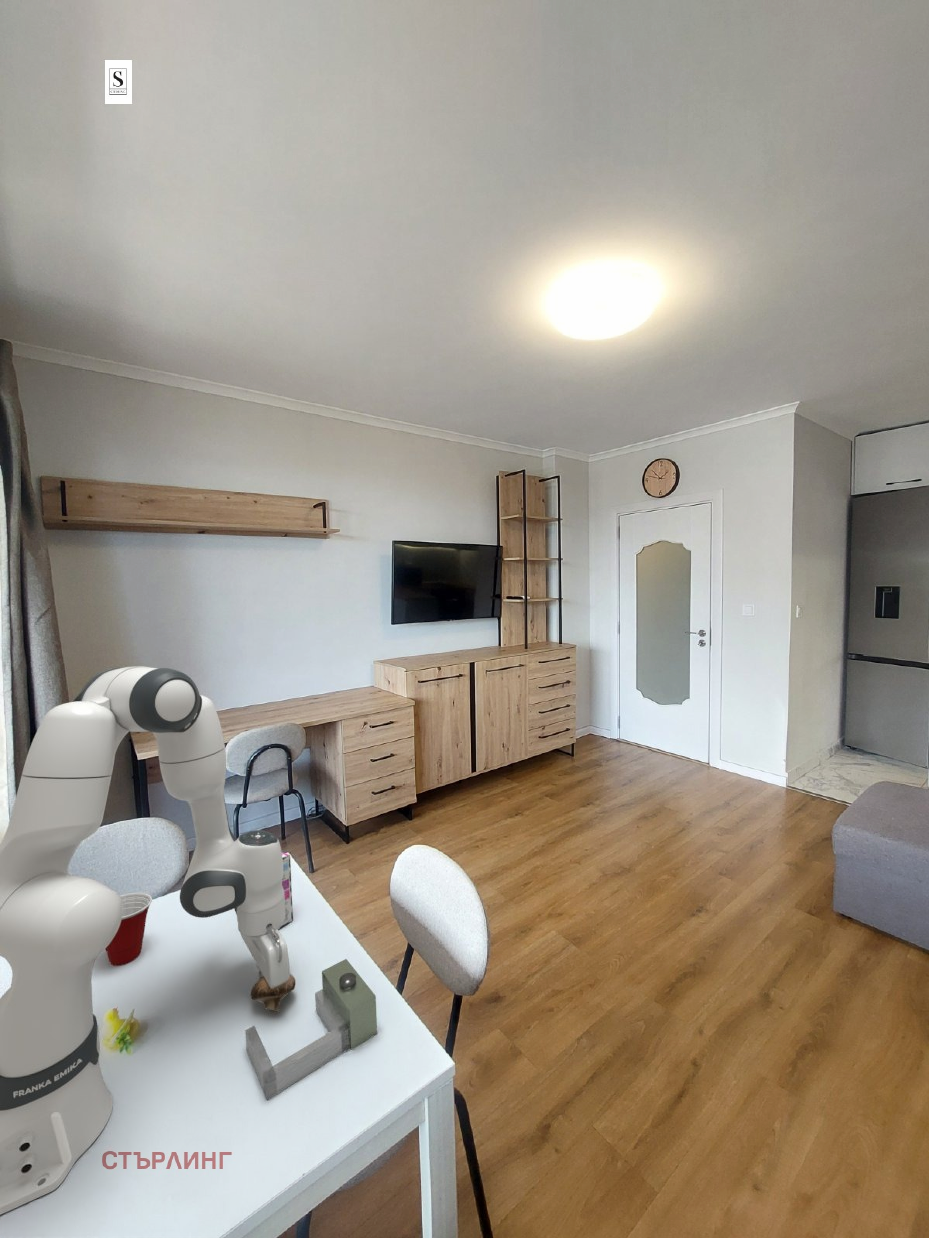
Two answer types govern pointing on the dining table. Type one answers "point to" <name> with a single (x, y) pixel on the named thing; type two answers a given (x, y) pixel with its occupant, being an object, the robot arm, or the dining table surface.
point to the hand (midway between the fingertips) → (265, 980)
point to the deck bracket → (344, 1015)
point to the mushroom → (271, 992)
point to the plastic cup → (129, 929)
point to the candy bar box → (287, 889)
